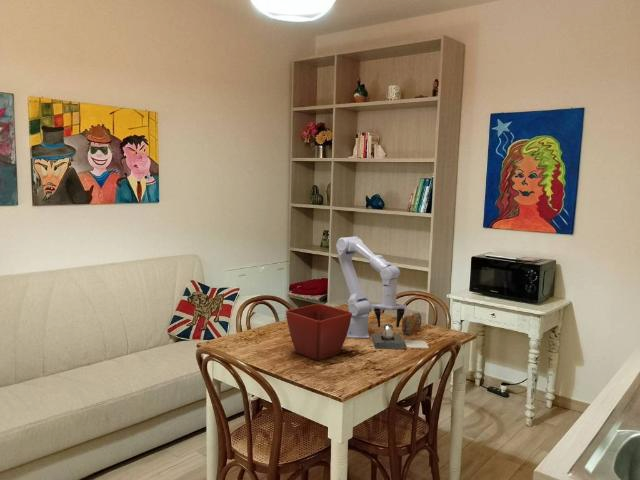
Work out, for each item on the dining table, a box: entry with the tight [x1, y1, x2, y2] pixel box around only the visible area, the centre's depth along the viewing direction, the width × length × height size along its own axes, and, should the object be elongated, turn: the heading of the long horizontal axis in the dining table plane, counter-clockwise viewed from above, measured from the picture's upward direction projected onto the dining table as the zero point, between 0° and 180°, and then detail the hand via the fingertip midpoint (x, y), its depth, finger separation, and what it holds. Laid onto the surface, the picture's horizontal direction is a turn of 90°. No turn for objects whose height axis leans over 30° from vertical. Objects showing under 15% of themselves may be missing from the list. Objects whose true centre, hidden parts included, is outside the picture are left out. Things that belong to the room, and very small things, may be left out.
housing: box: [371, 333, 405, 350], centre depth 216 cm, size 12×12×2 cm
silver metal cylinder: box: [382, 323, 394, 340], centre depth 216 cm, size 4×4×8 cm
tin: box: [401, 312, 422, 336], centre depth 234 cm, size 15×3×8 cm, turn 143°
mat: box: [403, 339, 430, 349], centre depth 216 cm, size 9×9×1 cm
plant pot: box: [285, 303, 352, 361], centre depth 202 cm, size 19×19×17 cm
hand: (388, 326), depth 215 cm, fingers open, 7 cm apart
